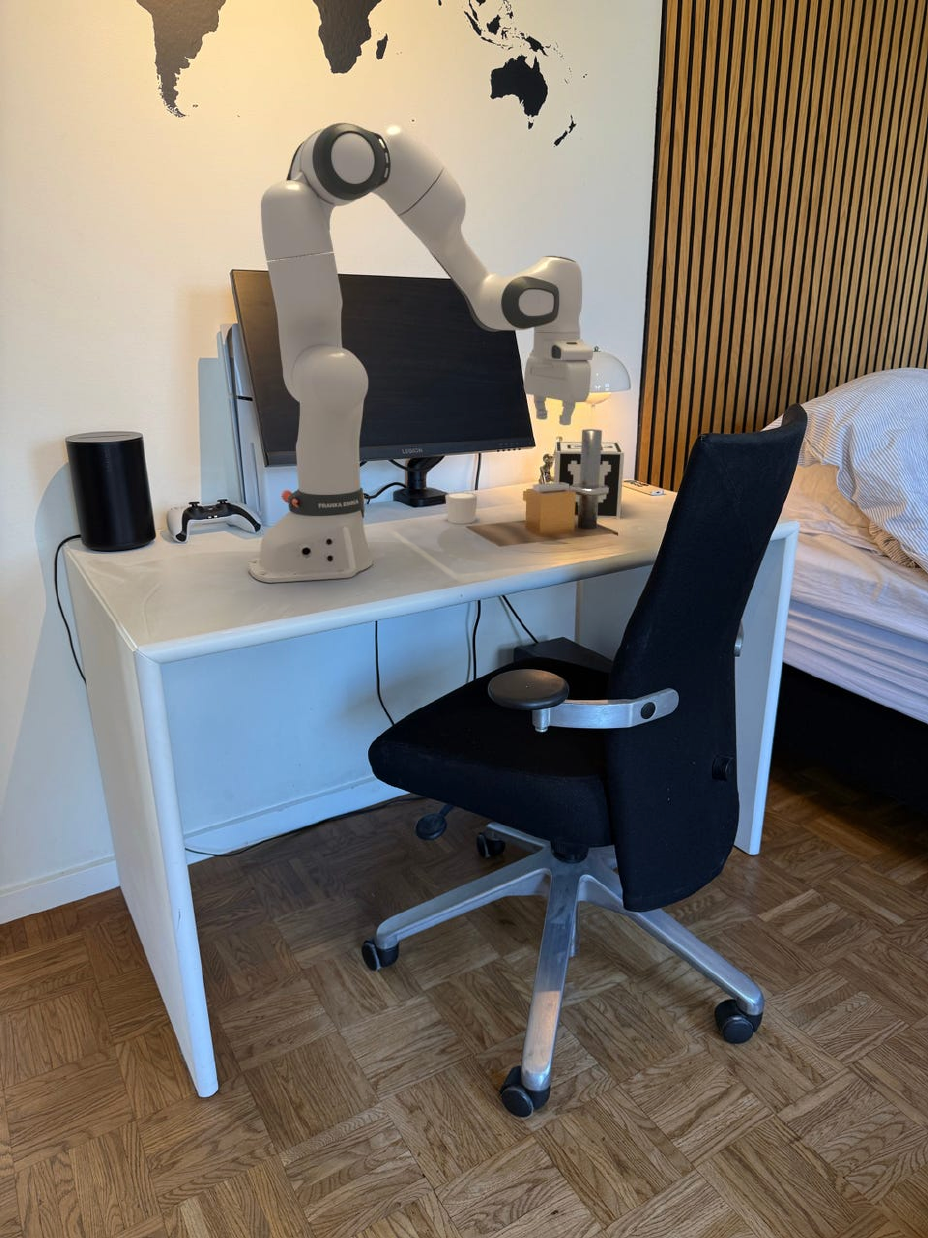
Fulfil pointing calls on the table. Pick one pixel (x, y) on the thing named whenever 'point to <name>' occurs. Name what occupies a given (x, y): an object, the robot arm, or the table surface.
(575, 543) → the table surface
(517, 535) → the base board
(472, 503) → the white short cylinder
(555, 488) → the wedge pin
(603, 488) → the ringlock node
